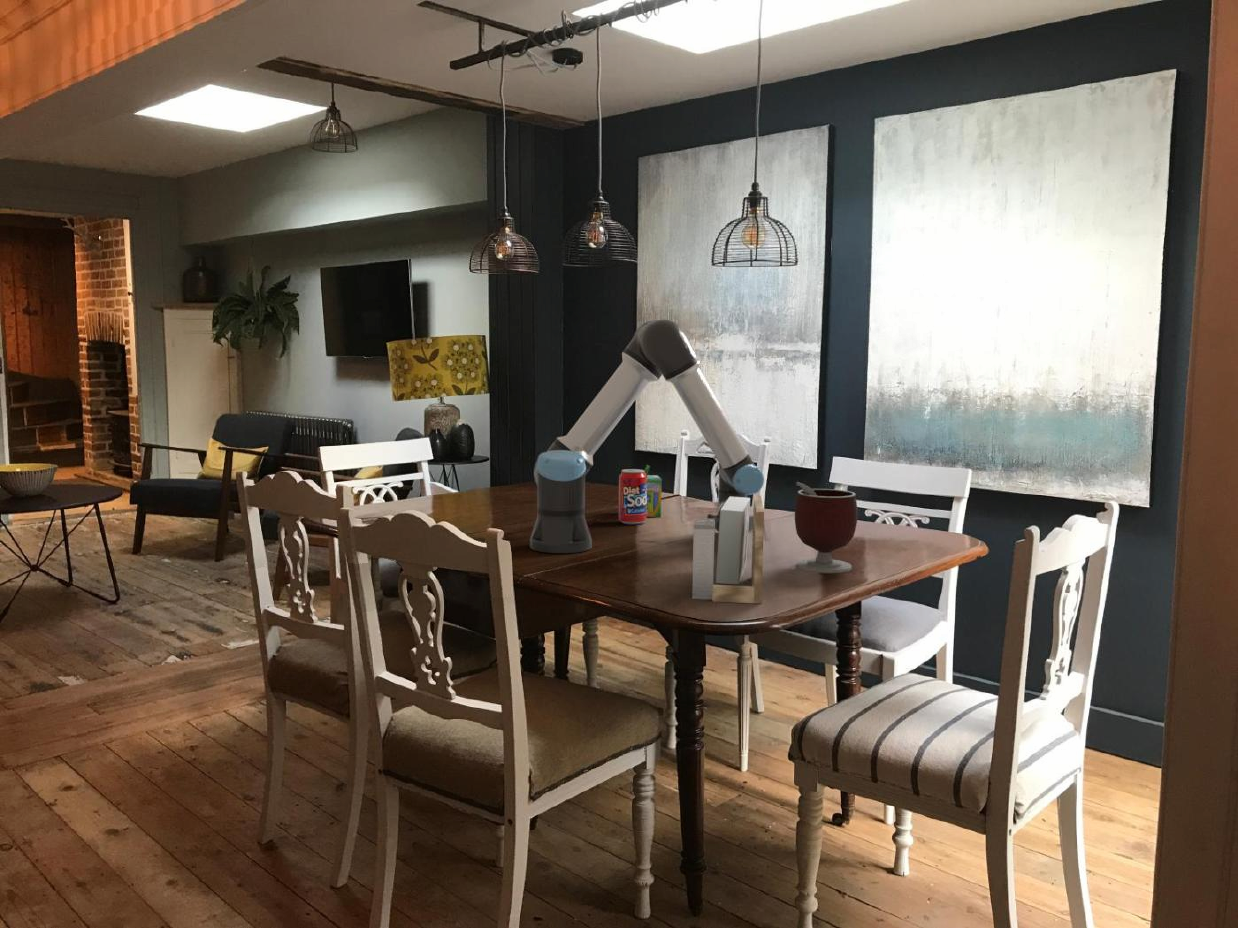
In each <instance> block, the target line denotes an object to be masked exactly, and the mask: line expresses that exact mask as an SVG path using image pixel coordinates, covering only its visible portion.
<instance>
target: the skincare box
mask: <svg viewBox="0 0 1238 928" xmlns="http://www.w3.org/2000/svg"><path fill="white" fill-rule="evenodd" d="M750 510H751V497H747V498H744V497H729V498H728V499H727V501H726V502H725V504H724V505H723V507H722V508H721V510H720V523H719V531H718V542H717V543H718V544H717V559H716V569H715V570H716V572H715V584H720V585H735V586H739V584H740V582H741V579H742V577H743V574H744V571H745V569H746V566H747V555H748V543H749V542H748V541H749V532H748V529H749V516H750Z"/></svg>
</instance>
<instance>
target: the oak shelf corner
mask: <svg viewBox="0 0 1238 928" xmlns="http://www.w3.org/2000/svg"><path fill="white" fill-rule="evenodd" d="M752 503H753V510H752V511H753V513H752V514H753V515H752V517H753V529H752V545H751V585H736V584H713V600H712V602H715V603H716V602H719V603H720V602H721V603H742V604H762V599H763V568H764V567H763V563H764V536H765V535H764V533H765V532H764V529H765V510H764V509H765V508H764V505H763V500H762V495H758V494H753V502H752Z"/></svg>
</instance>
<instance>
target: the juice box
mask: <svg viewBox="0 0 1238 928" xmlns="http://www.w3.org/2000/svg"><path fill="white" fill-rule="evenodd" d="M650 469H651V467H650V465H648V464H646V466H645V468H644V471H645V474H646V476H647V517H646V518H662V489H663V488H662V487H663V486H662V482H663V480H662V478H661V477H660V476H659V475H657V474H649V472H650Z"/></svg>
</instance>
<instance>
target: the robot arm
mask: <svg viewBox="0 0 1238 928" xmlns="http://www.w3.org/2000/svg"><path fill="white" fill-rule="evenodd" d="M621 357H622V362H621V363H620V364H619V366H618V367H617V369H616V370H615V371H614V373H612V376H611V377H610V378H609V379H608V381H606V383H605V384H604V385H603V387H602V388H601V390H600V391H599V392H598V393H597V395H596V396H595V397H594V399H593V400H592V401H591V403H589V405H588V407H587V408H586V409H585V410H584V412H583V413H582V414H581V416H580V417H579V418H578V420H577V421H576V422H575V424H574V425H573V426H572V427H571V429H570V430H569V432H567V434H565V435H564V436H563V435H562V436H558V437H556V439H555V440H554V441H553V442H552V444H551V445H550V446H549V448H548V449H547V450H546V451H544V452H542V453H540V454H539V455H538V457H537V460H536V461H535V464H534V467H533V477H534V482H535V485H536V486H537V489H536V491H537V493H536V495H537V497H536V499H537V507H536V508H537V512H536V513H537V514H536V516H537V517H536V520H535V523H534V526H533V529H532V531H531V535H530V540H529V548H530V549H531V550H534V551H536V552H541V553H549V554H572V553H573V554H574V553H581V552H582V553H583V552H587V551H589V550H591V549H592V548H593V547H592V546H593V545H592V542H593V539H592V535H591V533H590V529H589V526H588V523H587V520H586V515H585V514H586V511H585V510H586V508H585V507H586V502H585V501H586V475H587V474H588V473H589V471H590V469H591V468H592V467H593V465H594V459H593V457H594V454H595V453H596V452H597V451H598V449H599V448H600V447H601V446H602V444H603V443H604V442H605V440H606V439H607V438H608V437H609V435H610V434H611V432H613V430H614V429H615V427H616V426H617V425H618V424H619V422H620V421H621V419H622V418H623V417H624V416H625V414H626V413H627V412H628V410H629V409H630V408H631V407H632V405H633V403H634V402H635V401H636V400H637V398H638V397H639V396H640V395H641V394H642V392H643V391H644V390H645V388H646V387H647V385H648V384H649V383H651V382H658V381H659V380H660V379H661V377H662V376H663V378H664V379H665V381H666V382H669V383H671V384H672V385H673V387H674V388H675V391H676V392H677V394H678V395H679V397H680V398H681V400H682V403H683V404H684V406H685V407H686V409H687V411H688V413H690V416H691V417H692V419H693V421H694V423H695V425H696V426H697V428H698V429H699V432H700V433H701V434H702V437H703V438H704V439H705V442H706V443H707V445H708V446H709V448H710V450H711V452H712V453H713V455H714V457H715V458H716V459H717V462H718V463H717V464H718V496H717V497H718V499H717V501H718V502H717V503H718V504H717V515H716V514H715V515H714V514H707V517H706V518H710V519H715V531H717V532H719V523H720V510H721V508H722V507H723V505H724V504H725V502H726V501H727V499H728V498H729V497H744V498H748V496H752V495H753V496H754V495H756V494H757V493H759V492H760V491H761V490H762V489H763V486H764V484H765V475H764V474H763V472H762V470H761V468H760V467H758V466H757V465H755V462H754V461H753V459H752V457H751V456H750V454H749V452H748V451H747V449H746V447H745V446H744V444H743V442H742V440H741V438H740V437H739V435H738V433H737V431H736V430H735V428H734V426H733V424H732V422H731V421H730V419H729V418H728V416H727V414H726V413H725V411H724V409H723V407H722V405H721V403H720V401H719V400H718V398H717V396H716V395H715V393H714V391H713V390H712V388H711V387H710V384H709V383H708V380H707V379H706V377H705V376H704V374H703V373H702V371H701V369H700V362H701V360H700V359H699V357H698V356H697V354H696V352H695V349H694V348H693V346H692V343H691V342H690V340H689V337H688V336H687V334H686V331H684V329H683V328H682V327H681V326H680V325H679V324H678V323H676V321H673V320H670V319H663V318H661V319H653V320H649V321H647V322H644V323H643V324H641V325H640V326H639V327H638V328H637V329H636V331H635V332H634V335H633V336H632V339H631V341H629V343H628V345H627V346H626V347H625V349H624V350H622V353H621ZM751 531H753V516H750V515H749V529H748V533H749V532H751Z"/></svg>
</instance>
